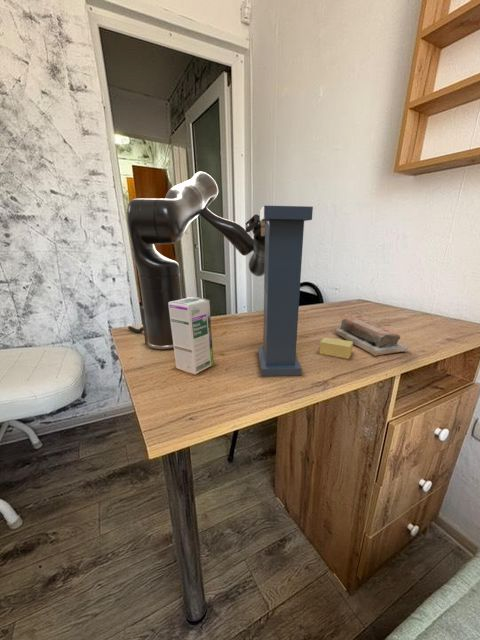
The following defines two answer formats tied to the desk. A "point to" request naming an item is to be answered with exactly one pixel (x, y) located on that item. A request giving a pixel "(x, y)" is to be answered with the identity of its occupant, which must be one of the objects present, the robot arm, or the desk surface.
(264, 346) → the square pillar stand
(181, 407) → the desk surface
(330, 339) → the butter block
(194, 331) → the syrup box
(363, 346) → the plastering float
